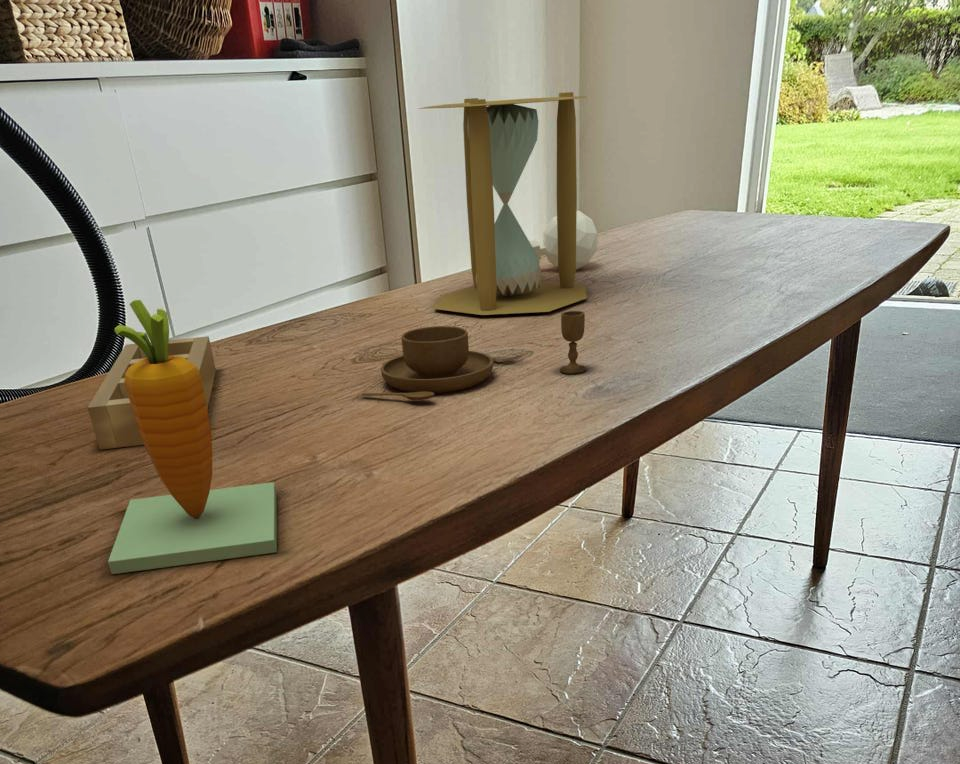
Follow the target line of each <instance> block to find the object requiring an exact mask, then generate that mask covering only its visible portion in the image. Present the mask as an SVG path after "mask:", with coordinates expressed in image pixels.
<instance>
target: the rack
mask: <svg viewBox="0 0 960 764" xmlns="http://www.w3.org/2000/svg"><path fill="white" fill-rule="evenodd" d="M150 343H151V341H150ZM151 345H152V344H151ZM212 350H213V349H212V345H211V341H210V336H208V335H207V336H199V337H198V336H197V337H187V338H178V339H177V338H176V339H169V342H168V356H181V357H184V358H185V359H187V360H188V361H190V362H191V363H192V364H194V365H195V366H196V367H197V368H198V370H199V372H200V375H201V378H202V383H203V388H204V394H205V399H206V404H207V410H208V411H209V409H208V408H209V405H210V401H211V396H212V391H213V386H214V382H215V381H214V380H215V377H216V372H217V369H216V363H215V359H214V355H213V351H212ZM146 358H147V356H146V355H145V353H144V352H143V351H142V349H141V348H140V347H139V346H137V345H136V344H135V343H128V344H125V345H124V346H123V348H122V350H121V351H120V353H119V355H118V356H117V358H116V360H115V362H114V363H113V364H112V366H111V368H110V370H109V372H108V373H107V374H106V376H105V377H104V380H103V381H102V383H101V385H100V386H99V388H98V389H97V391H96V392H95V394H94V396H93V398H92V400H91V401H90V403H89V404H88V406H87V410H88V414H89V418H90V420H91V424H92V428H93V431H94V435H95V438H96V442H97V445H98V448H99V450H101V451H102V450H111V449H117V448H119V449H120V448H128V447H136V446H145V445H144V443H143V440H142V437H141V434H140V431H139V428H138V425H137V422H136V419H135V416H134V413H133V410H132V406H131V403H130V399H129V396H128V393H127V389H126V386H125V373H126V371H127V370H128V368H129V367H131V366H132V365H133V364H135V363H137V362H139V361H141V360H143V359H146Z"/></svg>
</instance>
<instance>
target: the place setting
mask: <svg viewBox="0 0 960 764" xmlns="http://www.w3.org/2000/svg"><path fill="white" fill-rule="evenodd" d="M585 315H586V314H585V311H581V310H568V311H563V312H561V314H560V329H561V335H562V338H563V339H564V340H565V341H567V342H569V343H568V347H569V350H568V353H567V358H568V360H569V363H568V364H567V365H563V366H561V367H559V372H560V373H561V374H567V375H578V374H582V373H585V372H586V371H587V368H586V366H584V365H581V364H578V363H577V360H578V357H579V352H578V351H577V346H578V343H577V342H578V341H580V340H582V339H583V337H584V334H585V325H586V323H585V322H586V321H585V320H586V317H585ZM400 338H401V346H402V355H400V356H399V355H398V356H396V357H393V358H390V359H389V360H387V361H385V362H384V363H383V364H382V365H381V366H380V373H381V376H382V379H383V380H384V381H385V383H387V384H388V385H390V386H391V387H392V388H395V389H397V390H400V391H403V392H364V393H360V394H361V396H364V397H365V396H366V397H367V396H368V397H370V396H371V397H373V396H374V397H375V396H379V397H380V396H381V397H382V396H397V397H398V396H401V397H404V398H406V399H408V400H411V401H425V400H429V399H431V398H433V397H434V396H435V394H443V393H444V394H445V393H453V392H457V391H464V390H466V389H470V388H472V387H474V386H476V385H478V384H480V383H481V382H484V381H485V380H486V379H487V378H488V377H489V376H490V375H491V373H492V371H493V368H494V361H495V362H496V363H507V362H509V361H514V360H517V359H519V358H521V357H523V354H520V355H515V356H511V357H506V358H497V357H493V356H490V355H489V354H487V353H483V352H480V351H475V350H470V349H469V346H470V345H469V331H468V330H467V329H465V328H464V327H459V326H452V325H438V326H437V325H434V326H424V327H419V328H414V329H411V330H408V331H406V332H404V333H403V334H402V335H401V336H400Z"/></svg>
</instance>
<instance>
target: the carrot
mask: <svg viewBox="0 0 960 764" xmlns="http://www.w3.org/2000/svg"><path fill="white" fill-rule="evenodd" d="M129 306H130V307H131V310H132V311H133V313H134V314H135V316H136V318H137V320H138V322H139V323H140V325H141V327H142V328H143V329H144V331H145V332H143V331H136V330H135V329H134V328H132V327H129V326H126V325H123V324H119V325H117V326H116V327H114V332H115V334H116V335H117V336H121V337H123V338H126V339H128V340H130V341H131V342H132V343H133V344H136V345H137V346H139V347H140V348H141V349H142V351H143V352H144V353H145V355H146V356H147V358H146V359H143V360H141V361H139V362H137V363H135V364H133V365H132V366H131V367H129V368H128V370H127V371H126V373H125V386H126V389H127V393H128V396H129V399H130V403H131V406H132V410H133V413H134V416H135V419H136V422H137V425H138V428H139V431H140V434H141V437H142V440H143V443H144V445H143V446H144V447H145V449H146V451H147V453H148V454H147V455H148V456H149V459H150V460H151V462H152V464H153V466H154V468H155V471H156V473H157V474H158V477H159V478H160V481H161V482H162V484H163V485H164V486H165V488H166V489H167V491H168V492H169V494H170V495H172V496H173V498H174V499H175V500H176V501H177V502H178V503H179V505H180V506H181V507H182V508H183V509H184V510H185V511H186V513H187V514H188V515H189V516H191V517H193V518H195V519H198V518H199V517H200V516H201V514H202V513H203V512H204V509H205V506H206V502H207V499H208V496H209V492H210V490H211V485H212V479H213V443H212V442H213V441H212V440H213V439H212V429H211V422H210V416H209V409H208V410H207V404H206V399H205V394H204V388H203V383H202V378H201V375H200V372H199V370H198V368H197V367H196V366H195V365H194V364H192V363H191V362H190V361H188V360H187V359H185V358H184V357H181V356H168V342H169V340H170V324H169V323H170V322H169V317H168V312H167V311H166V310H164V309H163V308H157V309H156V313H153V314H152V315H151V314H150V312H149V310H148V309H147V307H146V306H145V305H144V303H143V301H142V300H141V299H133V301H131V302H130V303H129ZM150 342H151V343H150ZM151 344H152V345H151Z"/></svg>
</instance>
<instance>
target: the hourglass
mask: <svg viewBox="0 0 960 764" xmlns="http://www.w3.org/2000/svg"><path fill="white" fill-rule="evenodd" d="M586 98H588V97H587V96H583V95H582V96H575V95H574V92H573V91H568V92H559V93H558V96H556V97H555V96H553V97H531V98H516V99H514V98H513V99H503V100H502V99H500V100H486V98H480V99H479V98H478V97H473V98H464V99H463V102H462V103H461V102H459V103H449V104H447V103H445V104H438V105H431V106H424V107H419V108H417V109H419V110H421V109H449V108H450V109H451V108H463V123H462V126H463V127H462V128H463V129H462V130H463V149H464V169H465V170H464V171H465V172H464V173H465V191H466V193H465V194H466V209H467V211H466V212H467V224H468V237H469V251H470V266H471V274H472V281H473V285H471V286H467V287H464V288H461V289H458V290H454V291H451V292H447V293H443V294H441V295H439V297H438V299H437V301H436V303H435V305H434V307H433V309H434V310H440V311H448V312H455V313H462V314H471V315H472V314H473V315H477V316H478V315H480V316H491V315H492V316H493V315H509V314H529V313H530V314H531V313H547V312H548V313H550V312H552V311H555V310H557V309H560V308H563V307H566V306H569V305H572V304H574V303H578V302H580V301H584V300H586V299H588V295H587V290H586V285H585V284H576V283H575V280H576V272H577V270H576V214H577V211H578V210H577V206H578V205H577V204H578V202H577V201H578V197H577V196H578V195H577V194H578V192H577V190H578V189H577V188H578V187H577V185H578V184H577V183H578V182H577V117H576V108H575V100H577V99H586ZM557 101H558V102H557ZM545 102H557V114H556V216H557V236H558V279H559V282H553V281H542V271H541V266H540V260H539V258H538V257H537V255H536V253H535V251H534V249H533V247H532V246H531V244H530V242H529V241H530V240H529V239H528V237H527V235H526V233H525V232H524V230H523V228H522V226H521V225H520V223H519V221H518V219H517V218H516V216H515V214H514V213H513V211H512V209H511V207H510V205H509V201H510V200H511V198H512V196H513V194H514V191H515V189H516V187H517V185H518V182H519V181H520V178H521V176H522V174H523V172H524V170H525V167H526V166H527V164H528V161H529V160H530V157H531V155H532V152H533V151H534V149H535V146H536V143H537V141H538V133H539V117H538V115H539V114H538V111H537V110H538V109H536V108H532V107H528V106H524V105H519V104H532V103H533V104H534V103H545ZM494 190H495V192H496V193H497V195H498V197H499V200H500V201H501V202H502V207H501V209H500V211H499V213H498V215H497V217H496V220H495V203H494V202H495V201H494Z"/></svg>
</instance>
